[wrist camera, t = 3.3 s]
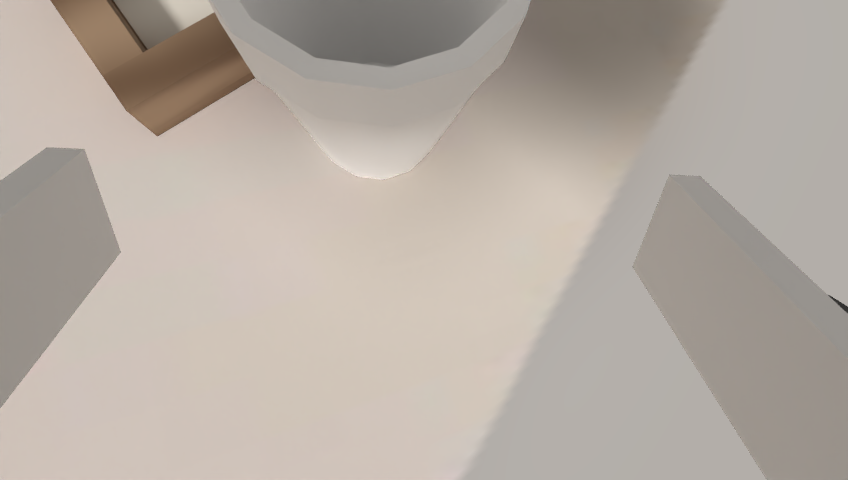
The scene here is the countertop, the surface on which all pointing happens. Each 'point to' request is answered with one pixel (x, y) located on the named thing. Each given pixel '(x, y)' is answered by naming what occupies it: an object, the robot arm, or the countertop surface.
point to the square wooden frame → (158, 55)
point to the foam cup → (373, 68)
